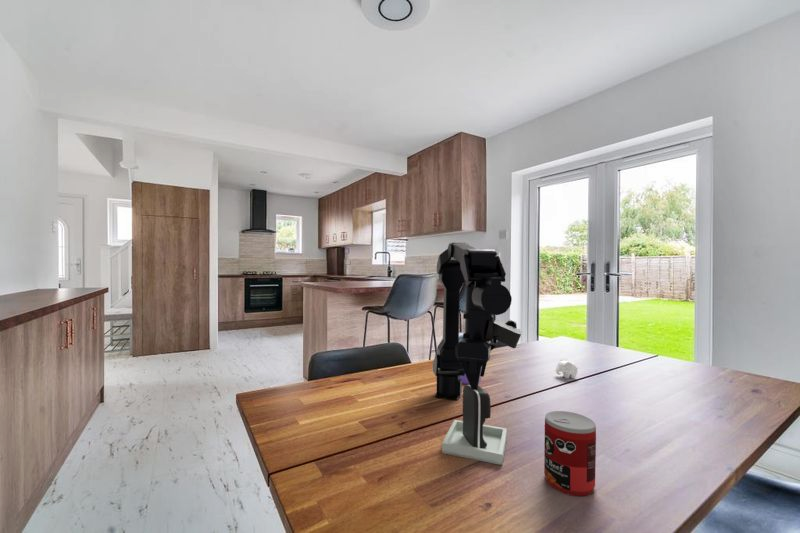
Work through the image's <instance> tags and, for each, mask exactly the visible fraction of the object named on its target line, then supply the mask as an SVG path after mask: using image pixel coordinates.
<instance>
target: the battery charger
mask: <svg viewBox="0 0 800 533" xmlns="http://www.w3.org/2000/svg"><path fill="white" fill-rule="evenodd" d="M463 386H464V387H462V421H463V435H464V437H465V438H466V439H467V441H468V442H469V443H470V444H471V446H472V447H476V448H486V447H487V443H486V442H485V440H484V439H483V425H485V422H486V419H487V420H488V419H490V418H491V407H492V405H491V396H490V394H489V392H487V391H486V389H484V388H483V387H481V386H480V385H478V389H477V390H472V389H471V386H470V384H467V385H463Z"/></svg>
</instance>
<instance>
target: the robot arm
mask: <svg viewBox="0 0 800 533" xmlns="http://www.w3.org/2000/svg"><path fill="white" fill-rule="evenodd" d="M436 274H437V275H438V281H439V283H440V285H441V286H442V288H443V308H442V310H443V312H442V313H443V316H442V317H443V318H442V319H443V320H442V322H443V323H442V339H441V341H439V344H438V345H437V347H436V354H435V355H434V359H433V361H432V372H433V374H434V376H435V377H436V393H435V394H434V397H435V398H441V399H445V400H447V399H449V400H454V401H457V400H458V399H459V397H460V396H461V395H462V394H463V383H462V379H460V376H465V374H466V377H467V379H468V382H469V384H468V385H470V386H471V389H472V390H477V389H478V386H479V384H480V381H479V379H480V376H481V378H483V377H484V376H485V373H486V368H487V365H488V364H487V363H488V362H489V360H490V358H491V352H492V351H493V350H494V349H495V348H496V347H497V343H498V342H500V343H503V344H505V345H507V346H508V347H509V348H512V349H516V348H517V346H518V343H519V341H520V339H521V337H522V333H523V331H522V330H521V329H520V328H517V327H518V326H517V321H514V320H512V319H508V320H507V321H506V322H503V321H499V320H497V318H496V317H497V316H499V315H502V314H505V313H506V312H507V311H508V310H509V309H510V307H511V304H512V300H513V299H512V295H511V292H510V290H509V289H508V288H507V287H506V286H505V285H503V284H502V283H505V282H506V274H507V273H506V271H505V268H504V266H503V263H502V261H501V258H500V255H498V252H497V251H496V250H495V249H487V248H484V249H483V248H480V249H479V248H478V249H477V248H475V247H473V246H471V245H470V244H469V243H467V242H455V241H454V242H450V243H448V246H447V248H446V249H445V250H444V251H442V252H441V253H440V254H439V255H438V259H437V263H436ZM464 284H465V310H464V313H463V316H462V317H463V320H464V326H465V327H464V332H463V333H462V338H463V339H461V340H460V338H459V337H460V306H461V305H460V301H461V300H460V297H461V289H462V288H463V285H464ZM459 340H460V341H459Z"/></svg>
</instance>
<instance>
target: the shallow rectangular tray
mask: <svg viewBox="0 0 800 533" xmlns="http://www.w3.org/2000/svg"><path fill="white" fill-rule="evenodd" d="M483 439H484V440H485V442H486V443H487V447H486V448H476V447H472V446H471V444H470V443H469V442H468V441H467V439H466V438H465V437H464V435H463V420H458V419H454V420H453V421H452V423H451V425H450V428H449V430H448V432H446V435H445V436H444V439H443V440H442V442H441V444H442V445H441V451H442V452H441V453H442V454H446V455H450V456H455V457H461V458H463V459H464V458H465V459H469V460H473V461H474V460H475V461H480V462H484V463H489V464H493V465H499V466H503V463H504V459H505V452H506V445H507V439H508V428H505V427H499V426H494V425H488V424H483Z"/></svg>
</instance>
